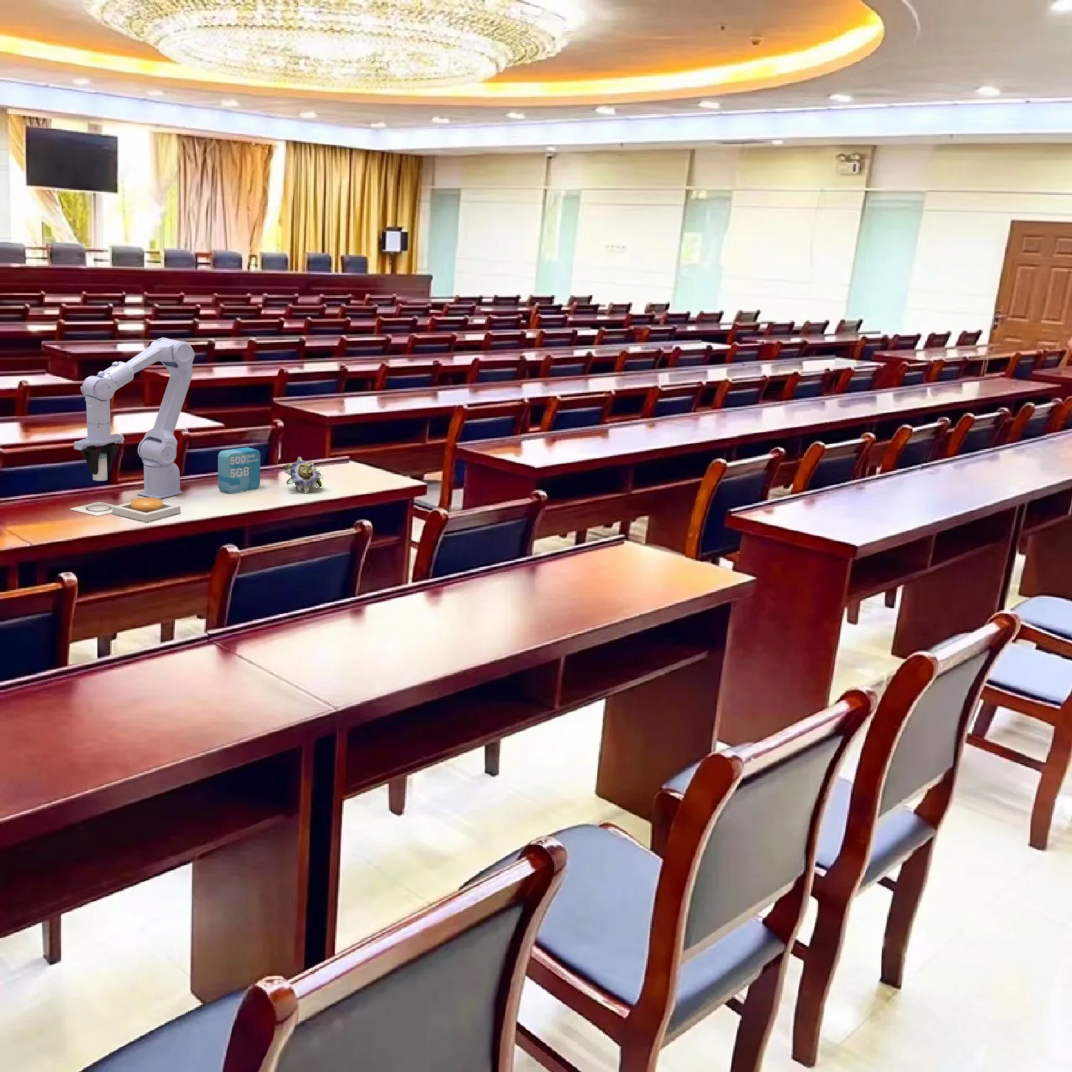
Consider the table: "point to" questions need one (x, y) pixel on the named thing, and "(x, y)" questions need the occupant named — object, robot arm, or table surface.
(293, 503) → the table surface
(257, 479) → the data package
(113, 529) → the table surface
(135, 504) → the button
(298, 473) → the passion flower
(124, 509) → the button box
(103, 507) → the paper sheet
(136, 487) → the table surface
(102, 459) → the white cylindrical piece
